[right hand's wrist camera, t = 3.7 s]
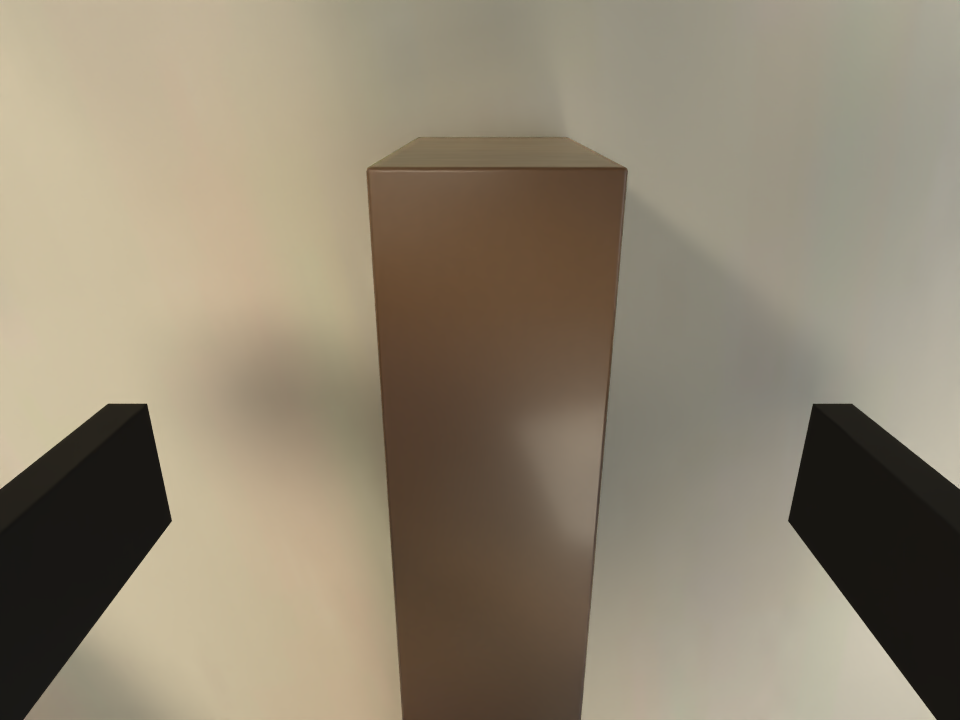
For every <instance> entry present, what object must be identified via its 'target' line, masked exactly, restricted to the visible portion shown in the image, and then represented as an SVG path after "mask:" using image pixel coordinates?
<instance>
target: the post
mask: <svg viewBox="0 0 960 720" xmlns="http://www.w3.org/2000/svg"><path fill="white" fill-rule="evenodd" d="M366 173H367V188H368V203H369V219H370V234H371V249H372V264H373V279H374V294H375V310H376V325H377V340H378V355H379V370H380V386H381V401H382V416H383V431H384V446H385V462H386V477H387V492H388V507H389V522H390V537H391V553H392V568H393V583H394V598H395V613H396V629H397V644H398V659H399V674H400V689H401V705H402V720H581V713H582V701H583V690H584V678H585V666H586V655H587V643H588V631H589V619H590V608H591V596H592V584H593V573H594V561H595V549H596V538H597V526H598V514H599V503H600V491H601V479H602V468H603V456H604V444H605V432H606V421H607V409H608V397H609V386H610V374H611V362H612V351H613V339H614V327H615V316H616V304H617V292H618V281H619V269H620V257H621V246H622V234H623V222H624V210H625V199H626V187H627V175H628V170H627V168H626V167H624V166H622V165H620V164H618V163H616V162H614V161H612V160H610V159H608V158H606V157H604V156H602V155H600V154H599V153H597V152H595V151H593V150H591V149H589V148H587V147H585V146H583V145H581V144H579V143H577V142H575V141H573V140H572V139H570V138H567V137H419V138H417V139H415V140H413V141H412V142H410V143H408V144H407V145H405V146H403V147H402V148H400V149H398V150H397V151H395V152H393V153H392V154H390V155H388V156H387V157H385V158H383V159H382V160H380V161H378V162H376V163H375V164H373V165H371V166H370V167H368V168H367V171H366Z"/></svg>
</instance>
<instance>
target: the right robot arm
mask: <svg viewBox="0 0 960 720" xmlns="http://www.w3.org/2000/svg"><path fill="white" fill-rule="evenodd" d="M171 521H172V519H171V515H170V510H169V505H168V501H167V496H166V491H165V486H164V482H163V477H162V472H161V468H160V463H159V458H158V453H157V449H156V444H155V439H154V435H153V430H152V425H151V420H150V416H149V411H148V406H147V404H107V405H106V406H105V407H103V408H102V409H101V410H100V411H98V412H97V413H96V414H95V415H93V416H92V417H91V418H90V419H88V420H87V421H86V422H85V423H83V424H82V425H81V426H80V427H78V428H77V429H76V430H75V431H73V432H72V433H71V434H69V435H68V436H67V437H66V438H64V439H63V440H62V441H61V442H59V443H58V444H57V445H56V446H54V447H53V448H52V449H51V450H49V451H48V452H47V453H46V454H44V455H43V456H42V457H40V458H39V459H38V460H37V461H35V462H34V463H33V464H32V465H30V466H29V467H28V468H27V469H25V470H24V471H23V472H22V473H20V474H19V475H18V476H17V477H15V478H14V479H13V480H12V481H10V482H9V483H8V484H6V485H5V486H4V487H3V488H1V489H0V720H23V719H24V718H25V717H26V715H27V714H28V713H29V711H30V710H31V709H32V707H33V706H34V705H35V703H36V702H37V701H38V699H39V698H40V697H41V695H42V694H43V693H44V691H45V690H46V689H47V687H48V686H49V685H50V683H51V682H52V681H53V679H54V678H55V677H56V675H57V674H58V673H59V671H60V670H61V669H62V667H63V666H64V665H65V663H66V662H67V661H68V659H69V658H70V657H71V655H72V654H73V653H74V651H75V650H76V649H77V647H78V646H79V645H80V643H81V642H82V641H83V639H84V638H85V636H86V635H87V634H88V632H89V631H90V630H91V628H92V627H93V626H94V624H95V623H96V622H97V620H98V619H99V618H100V616H101V615H102V614H103V612H104V611H105V610H106V608H107V607H108V606H109V604H110V603H111V602H112V600H113V599H114V598H115V596H116V595H117V594H118V592H119V591H120V590H121V588H122V587H123V586H124V584H125V583H126V582H127V580H128V579H129V578H130V576H131V575H132V574H133V572H134V571H135V570H136V568H137V567H138V566H139V564H140V563H141V562H142V560H143V559H144V558H145V556H146V555H147V554H148V552H149V551H150V550H151V548H152V547H153V545H154V544H155V543H156V541H157V540H158V539H159V537H160V536H161V535H162V533H163V532H164V531H165V529H166V528H167V527H168V525H169V524H170V523H171ZM788 521H789V523H790V524H791V525H792V527H793V528H794V529H795V531H796V532H797V533H798V535H799V536H800V537H801V539H802V540H803V541H804V543H805V544H806V546H807V547H808V548H809V550H810V551H811V552H812V554H813V555H814V556H815V558H816V559H817V560H818V562H819V563H820V564H821V566H822V567H823V568H824V570H825V571H826V572H827V574H828V575H829V576H830V578H831V579H832V580H833V582H834V583H835V584H836V586H837V587H838V588H839V590H840V591H841V592H842V594H843V595H844V596H845V598H846V599H847V600H848V602H849V603H850V604H851V606H852V607H853V608H854V610H855V611H856V612H857V614H858V615H859V616H860V618H861V619H862V620H863V622H864V623H865V624H866V626H867V627H868V628H869V630H870V631H871V632H872V634H873V635H874V637H875V638H876V639H877V641H878V642H879V643H880V645H881V646H882V647H883V649H884V650H885V651H886V653H887V654H888V655H889V657H890V658H891V659H892V661H893V662H894V663H895V665H896V666H897V667H898V669H899V670H900V671H901V673H902V674H903V675H904V677H905V678H906V679H907V681H908V682H909V683H910V685H911V686H912V687H913V689H914V690H915V691H916V693H917V694H918V695H919V697H920V698H921V699H922V701H923V702H924V703H925V705H926V706H927V707H928V709H929V710H930V711H931V713H932V714H933V715H934V717H935V718H936V719H937V720H960V489H959V488H957V487H956V486H955V485H954V484H952V483H951V482H950V481H948V480H947V479H946V478H945V477H943V476H942V475H941V474H940V473H938V472H937V471H936V470H935V469H933V468H932V467H931V466H930V465H928V464H927V463H926V462H925V461H923V460H922V459H921V458H920V457H918V456H917V455H916V454H914V453H913V452H912V451H911V450H909V449H908V448H907V447H906V446H904V445H903V444H902V443H901V442H899V441H898V440H897V439H896V438H894V437H893V436H892V435H891V434H889V433H888V432H887V431H885V430H884V429H883V428H882V427H880V426H879V425H878V424H877V423H875V422H874V421H873V420H872V419H870V418H869V417H868V416H867V415H865V414H864V413H863V412H862V411H860V410H859V409H858V408H857V407H855V406H854V405H853V404H813V406H812V411H811V416H810V420H809V425H808V430H807V435H806V439H805V444H804V449H803V453H802V458H801V463H800V468H799V472H798V477H797V482H796V486H795V491H794V496H793V501H792V505H791V510H790V515H789V519H788Z"/></svg>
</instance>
